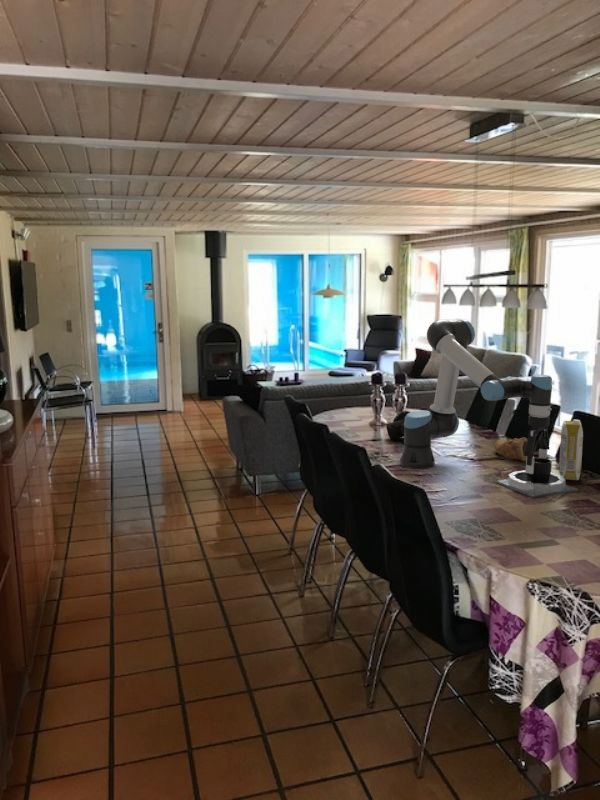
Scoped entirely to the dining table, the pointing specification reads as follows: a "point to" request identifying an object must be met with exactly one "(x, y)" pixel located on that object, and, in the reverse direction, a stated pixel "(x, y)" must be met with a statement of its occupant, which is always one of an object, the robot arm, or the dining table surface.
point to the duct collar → (536, 485)
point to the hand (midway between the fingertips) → (535, 469)
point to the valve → (397, 426)
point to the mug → (540, 471)
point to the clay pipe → (512, 448)
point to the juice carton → (571, 449)
